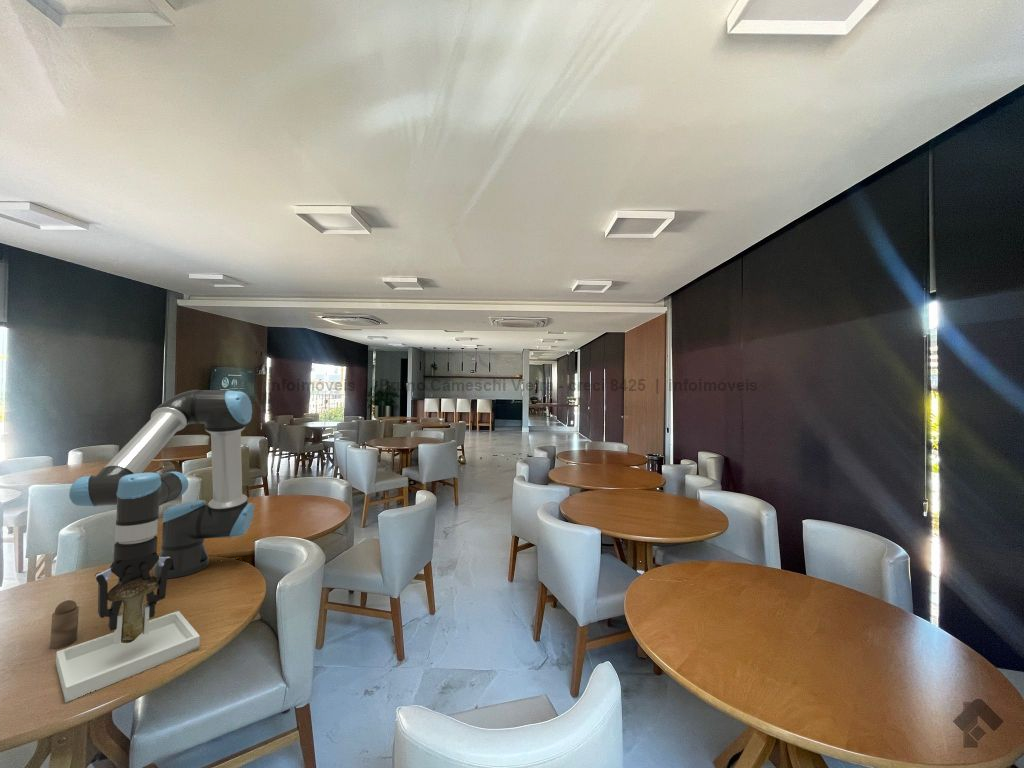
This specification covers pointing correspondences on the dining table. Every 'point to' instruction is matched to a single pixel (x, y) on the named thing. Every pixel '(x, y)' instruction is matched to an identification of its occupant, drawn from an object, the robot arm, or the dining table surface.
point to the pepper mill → (64, 625)
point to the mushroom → (132, 605)
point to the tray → (123, 655)
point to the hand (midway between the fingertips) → (131, 636)
